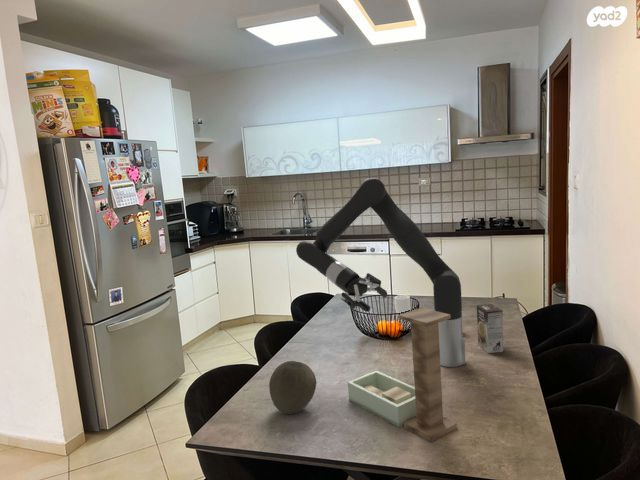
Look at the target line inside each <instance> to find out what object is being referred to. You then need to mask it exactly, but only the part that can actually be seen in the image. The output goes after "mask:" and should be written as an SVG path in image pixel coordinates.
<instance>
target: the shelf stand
mask: <svg viewBox="0 0 640 480" xmlns="http://www.w3.org/2000/svg"><path fill="white" fill-rule="evenodd" d="M398 316H399V319H401V320H405V321H408V322H410V331H411V332H410V333H411V345H412V347H411V348H412V361H413V362H412V363H413V364H412V365H413V381H414V382H413V383H414V387H415V401H416V416H415V417H413V418H411V419H409V420H407V421H405V422H404V425H403V428H405V429H406V430H408V431H410V432H412V433H414V434H416V435H417V436H419V437H421V438H423V439H425V440H426V441H428V442H430V443H434V442H435V441H437V440H438V439H441V438H442V437H444V436H445V435H447V434H449V433H452V432H454V431H455V430H456V429H458V426H457V425H458V424H457V422H455V421H453V420H451V419H450V418H447V417H445V416H444V411H443V410H444V409H443V394H442V393H443V391H442V390H443V389H442V372H441V371H442V370H441V367H442V366H441V365H440V347H439V327H438V323H439V322H442V321H445V320H447V319H450V318H451V315H450V314H446V313H442V312H438V311H435V309H429V308H426V307H420V308H419V307H418V308H417V309H412V310H410V312H407V313H404V314H401V315H398Z"/></svg>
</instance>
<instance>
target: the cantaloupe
mask: <svg viewBox="0 0 640 480" xmlns="http://www.w3.org/2000/svg"><path fill="white" fill-rule="evenodd" d="M268 386H269V387H268V388H269V395H270V399H271V401H272V403H273V406H274V407H275V408H276V409H277V410H278V411H279V412H281V413H285V414H288V415H291V414H296V413H299V412H301V411H302V410H303V409H305V408H306V407H307V406H308V405H310V404H309V403H310V402H311V401H312V400H313V398H314V395H315V392H316V388H317V387H316V386H317V378H316V375H315V373H314V371H313V369H312V368H311V367H310V366H308V364H306V363H304V362H301V361H295V360H289V361H285V362H283V363H280V364H279V365H277V367H276V368H275V369H274V370H273V372H272V374H271V377H270V378H269V384H268Z"/></svg>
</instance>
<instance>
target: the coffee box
mask: <svg viewBox="0 0 640 480" xmlns="http://www.w3.org/2000/svg"><path fill="white" fill-rule="evenodd" d="M503 313H504V312H503V310H502V309H501V308H499V307H498V306H496V305H494V304H493V303H489V304H488V303H487V304H486V303H484V304H478V305H477V304H476V318H477V319H476V320H477V322H476V323H477V325H476V326H477V342H478V343H477V344H478V346H479V347H480V348H481V349H482V350H484V351H485V352H486V353H487V354H492V353H502V352H504V322H503V315H504V314H503Z"/></svg>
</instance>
